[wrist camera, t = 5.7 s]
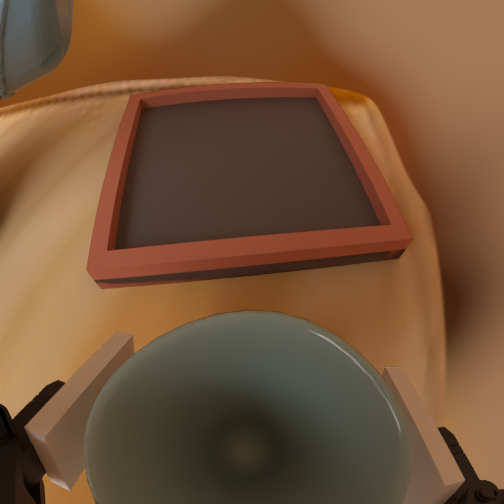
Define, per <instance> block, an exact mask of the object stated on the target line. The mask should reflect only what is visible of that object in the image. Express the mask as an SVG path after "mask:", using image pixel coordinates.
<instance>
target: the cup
mask: <svg viewBox="0 0 504 504" xmlns="http://www.w3.org/2000/svg"><path fill="white" fill-rule="evenodd" d="M83 453H84V461H85V468H86V475H87V481H88V484H89V486H90V489H91V492H92V495H93V497H94V500H95V503H96V504H403V502H404V499H405V496H406V492H407V489H408V486H409V482H410V478H411V473H412V445H411V440H410V435H409V430H408V426H407V421H406V419H405V417H404V415H403V412H402V410H401V408H400V406H399V403H398V401H397V399H396V397H395V395H394V393H393V392H392V391H391V389H390V388H389V386H388V385H387V383H386V382H385V380H384V379H383V378H382V376H381V375H380V373H379V372H378V371H377V370H376V369H375V368H374V367H373V366H372V365H371V364H370V363H369V362H368V361H367V360H366V358H365V357H364V356H363V355H362V354H361V353H360V352H359V351H358V350H356V349H355V348H354V347H352V346H351V345H349V344H348V343H347V342H345V341H344V340H343V339H341V338H340V337H339V336H337V335H336V334H334V333H333V332H331V331H329V330H327V329H325V328H323V327H321V326H319V325H317V324H315V323H313V322H311V321H309V320H307V319H303V318H299V317H296V316H292V315H288V314H285V313H281V312H277V311H259V310H242V311H235V312H227V313H220V314H215V315H211V316H208V317H205V318H202V319H198V320H195V321H192V322H188V323H186V324H184V325H182V326H179V327H177V328H175V329H173V330H171V331H169V332H167V333H165V334H163V335H161V336H159V337H157V338H156V339H154V340H153V341H151V342H150V343H149V344H147V345H146V346H144V347H143V348H141V349H140V350H138V351H137V352H136V353H134V354H133V355H132V356H131V357H130V358H129V359H128V360H127V361H126V362H125V363H124V364H123V365H121V366H120V367H119V368H118V369H117V370H116V371H115V372H114V373H113V374H112V375H111V377H110V378H109V380H108V381H107V383H106V384H105V386H104V387H103V389H102V390H101V392H100V393H99V395H98V396H97V398H96V399H95V402H94V404H93V407H92V410H91V412H90V415H89V418H88V420H87V423H86V429H85V439H84V450H83Z"/></svg>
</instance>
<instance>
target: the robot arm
mask: <svg viewBox="0 0 504 504" xmlns="http://www.w3.org/2000/svg"><path fill="white" fill-rule="evenodd" d="M72 21H73V0H0V100H1V99H7V98H9V97H11V96H12V95H14V93H15V92H16V91H17V90H19V89H20V88H22V87H24V86H26V85H27V84H29V83H31V82H33V81H35V80H37V79H39V78H41V77H43V76H45V75H47V74H49V73H50V72H52V71H53V70H54V69H56V68H57V67H58V66H59V64H60V63H61V62H62V60H63V59H64V57H65V55H66V53H67V50H68V48H69V44H70V40H71V32H72ZM133 354H134V343H133V335H131V334H127V333H122V332H118V331H117V332H116V333H115V334H114V335H113V336H112V337H111V338H110V339H109V340H108V341H107V342H106V343H105V344H104V345H103V346H102V347H101V348H100V349H99V350H98V351H97V352H96V353H95V354H94V355H93V356H92V357H91V358H90V359H89V360H88V361H87V362H86V363H85V364H84V365H83V366H82V367H81V368H80V369H79V370H78V371H77V372H76V373H75V374H74V375H73V376H72V377H71V378H70V379H69V380H68V381H67V382H66V383H64V382H62V381H59V380H57V381H55V382H53V383H51V384H49V385H47V386H46V387H45V388H44V389H43V390H42V391H41V392H39V395H36V396H35V397H34V398H33V399H32V401H30V402H29V403H28V404H27V405H26V406H25V407H24V408H23V409H22V410H21V411H20V412H19V413H18V414H17V415H16V416H15V417H14V418H13V419H12V418H11V416H10V414H9V412H8V410H7V408H6V407H5V406H3V405H2V404H0V504H45V490H44V483H43V480H42V477H43V476H44V474H45V473H47V475H48V477H49V478H50V480H51V482H53V483H55V484H57V485H59V486H61V487H63V488H65V489H67V490H69V491H70V490H71V489H72V487H73V486H74V484H75V482H76V481H77V479H78V477H79V476H80V474H81V473H82V471H83V469H84V468H85V461H84V453H83V450H84V439H85V429H86V423H87V420H88V418H89V415H90V412H91V410H92V407H93V404H94V402H95V399H96V398H97V396H98V395H99V393H100V392H101V390H102V389H103V387H104V386H105V384H106V383H107V381H108V380H109V378H110V377H111V375H112V374H113V373H114V372H115V371H116V370H117V369H118V368H119V367H120V366H121V365H123V364H124V363H125V362H126V361H127V360H128V359H129V358H130V357H131V356H132V355H133ZM382 378H383V379H384V380H385V382H386V383H387V385H388V386H389V388H390V389H391V391H392V392H393V393H394V395H395V397H396V399H397V401H398V403H399V406H400V408H401V410H402V412H403V415H404V417H405V419H406V421H407V426H408V430H409V435H410V440H411V445H412V473H411V478H410V482H409V486H408V489H407V492H406V496H405V499H404V502H403V504H504V489H500V490H498V488H497V486H496V485H494V484H493V483H492V482H489V481H486V480H479V478H478V477H477V475H476V473H475V471H474V469H473V467H472V466H471V464H470V462H469V460H468V458H467V457H466V455H465V454H464V453H463V450H462V448H461V446H459V443H458V441H457V439H456V438H455V436H454V435H453V434H452V433H451V432H450V431H449V430H448V429H446V428H445V427H440V428H437V427H436V425H435V423H434V421H433V420H432V418H431V416H430V414H429V413H428V411H427V409H426V408H425V406H424V404H423V402H422V401H421V399H420V397H419V396H418V394H417V392H416V391H415V389H414V387H413V386H412V384H411V382H410V381H409V379H408V378H407V376H406V374H405V373H404V371H403V369H402V368H401V367H393V366H385V368H384V371H383V374H382Z"/></svg>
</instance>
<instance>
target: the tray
mask: <svg viewBox="0 0 504 504" xmlns="http://www.w3.org/2000/svg"><path fill="white" fill-rule="evenodd" d="M412 240H413V237H412V235H411V233H410V231H409V228H408V226H407V224H406V222H405V220H404V218H403V216H402V214H401V211H400V209H399V207H398V205H397V203H396V201H395V199H394V197H393V195H392V193H391V191H390V190H389V188H388V186H387V184H386V182H385V180H384V178H383V176H382V174H381V173H380V171H379V169H378V167H377V165H376V164H375V162H374V160H373V158H372V156H371V155H370V153H369V151H368V150H367V148H366V146H365V144H364V143H363V141H362V139H361V138H360V136H359V134H358V133H357V131H356V130H355V128H354V126H353V125H352V123H351V122H350V120H349V118H348V117H347V115H346V114H345V112H344V111H343V109H342V108H341V106H340V105H339V103H338V102H337V100H336V99H335V97H334V96H333V94H332V93H331V91H330V90H329V88H328V87H327V86H326V84H323V83H299V82H255V83H231V84H216V85H203V86H193V87H184V88H175V89H168V90H160V91H154V92H147V93H141V94H135V95H130V98H129V101H128V104H127V106H126V109H125V112H124V115H123V118H122V121H121V124H120V127H119V130H118V133H117V137H116V140H115V143H114V147H113V150H112V153H111V157H110V160H109V164H108V168H107V172H106V175H105V179H104V183H103V187H102V191H101V196H100V200H99V204H98V209H97V214H96V218H95V223H94V228H93V234H92V239H91V245H90V251H89V257H88V263H87V272H88V273H89V274H90V276H91V277H92V278H93V279H94V281H95V282H96V283H97V284H98V286H99V287H100V288H101V289H107V288H119V287H132V286H144V285H156V284H167V283H179V282H190V281H200V280H211V279H221V278H231V277H241V276H251V275H261V274H270V273H280V272H289V271H298V270H307V269H315V268H324V267H333V266H341V265H349V264H358V263H366V262H374V261H382V260H390V259H397V258H399V257H400V256H401V255H402V253H403V252H404V251H405V249H406V248H407V247H408V245H409V244H410V242H411V241H412Z"/></svg>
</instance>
